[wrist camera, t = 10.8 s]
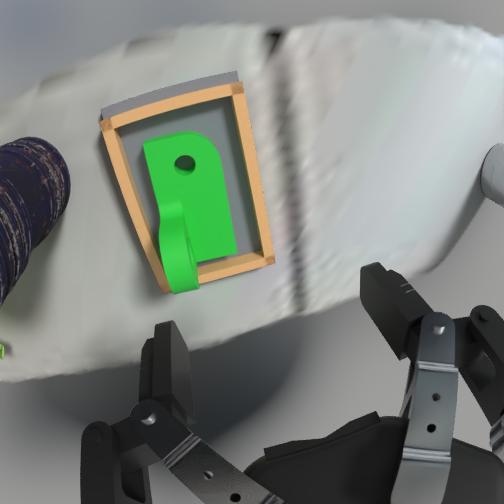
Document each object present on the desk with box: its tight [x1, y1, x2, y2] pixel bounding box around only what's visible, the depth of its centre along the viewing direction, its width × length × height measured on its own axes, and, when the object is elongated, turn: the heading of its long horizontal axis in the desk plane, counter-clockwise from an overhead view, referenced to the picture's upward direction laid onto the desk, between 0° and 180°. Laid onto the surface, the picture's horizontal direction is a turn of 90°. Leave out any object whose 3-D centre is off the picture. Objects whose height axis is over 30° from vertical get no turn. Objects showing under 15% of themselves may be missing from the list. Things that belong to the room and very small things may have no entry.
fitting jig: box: [100, 71, 275, 294], centre depth 28 cm, size 12×20×2 cm, turn 10°
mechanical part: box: [143, 131, 237, 294], centre depth 25 cm, size 12×6×8 cm, turn 8°
